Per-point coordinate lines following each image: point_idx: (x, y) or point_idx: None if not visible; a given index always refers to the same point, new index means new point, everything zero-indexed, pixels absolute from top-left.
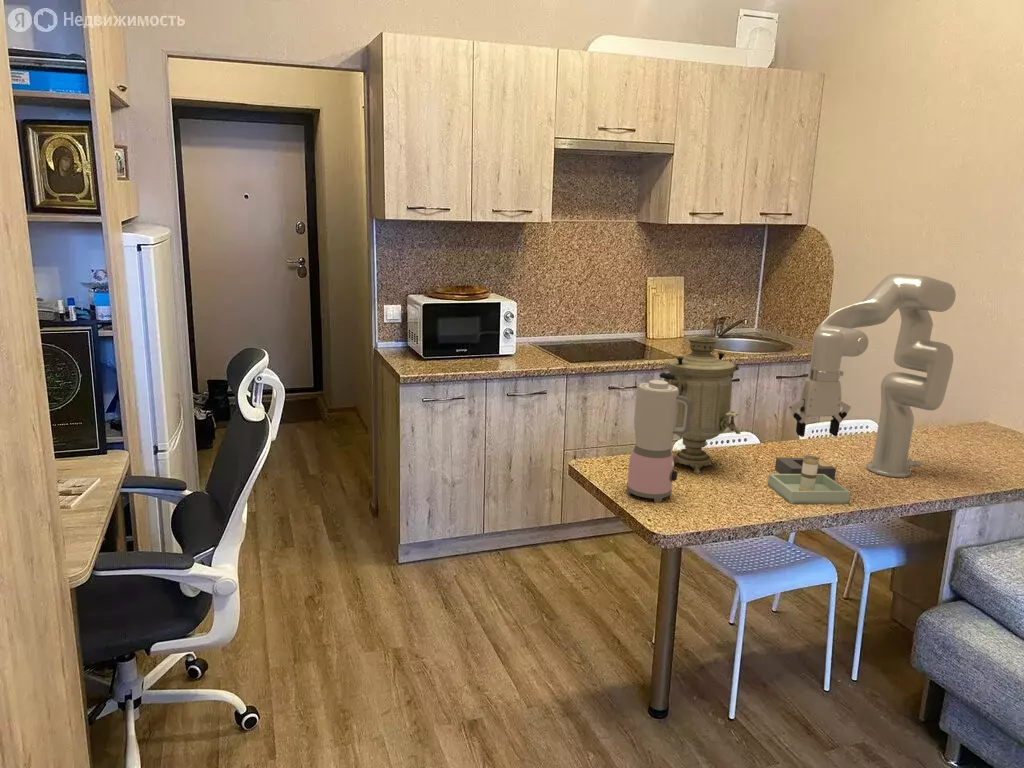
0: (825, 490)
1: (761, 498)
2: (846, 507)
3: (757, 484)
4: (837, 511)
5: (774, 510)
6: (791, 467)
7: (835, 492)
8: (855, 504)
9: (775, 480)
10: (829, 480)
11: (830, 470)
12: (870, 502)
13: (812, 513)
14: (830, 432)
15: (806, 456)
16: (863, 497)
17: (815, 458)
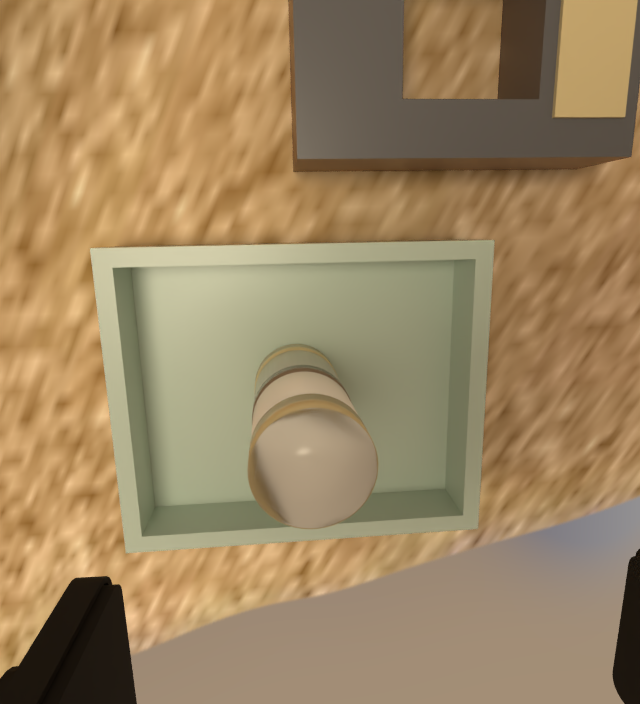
0: (415, 365)
1: (7, 449)
2: (415, 536)
3: (53, 231)
4: (344, 582)
5: (28, 593)
6: (306, 134)
7: (391, 532)
8: (482, 499)
9: (104, 349)
10: (469, 340)
11: (584, 159)
12: (573, 471)
13: (209, 612)
14: (636, 591)
15: (284, 437)
16: (582, 410)
17: (342, 487)
